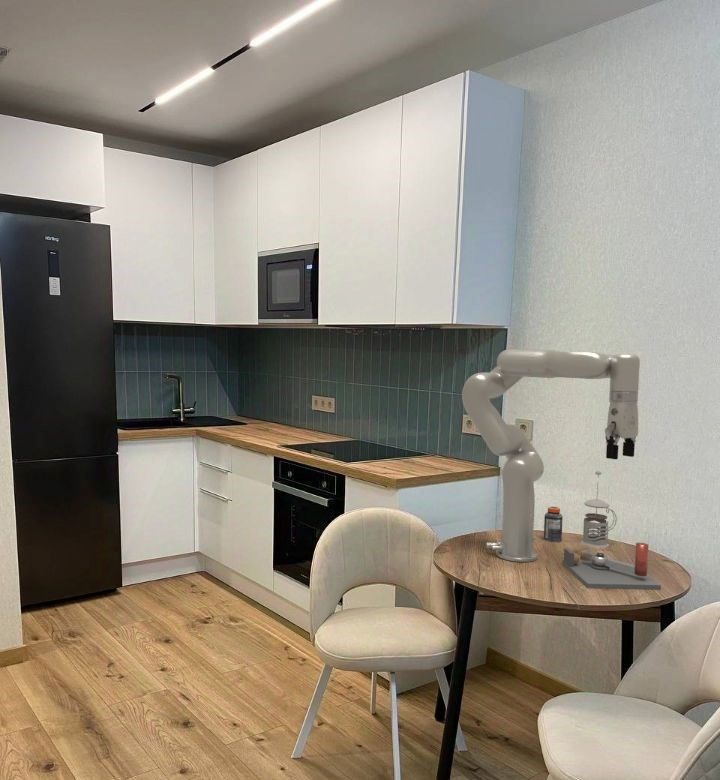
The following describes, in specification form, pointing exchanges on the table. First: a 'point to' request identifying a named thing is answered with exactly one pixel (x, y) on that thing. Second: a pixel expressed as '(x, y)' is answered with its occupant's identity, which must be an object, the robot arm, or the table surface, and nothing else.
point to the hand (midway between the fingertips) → (620, 457)
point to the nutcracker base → (605, 575)
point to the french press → (593, 538)
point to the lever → (603, 560)
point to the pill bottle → (553, 525)
